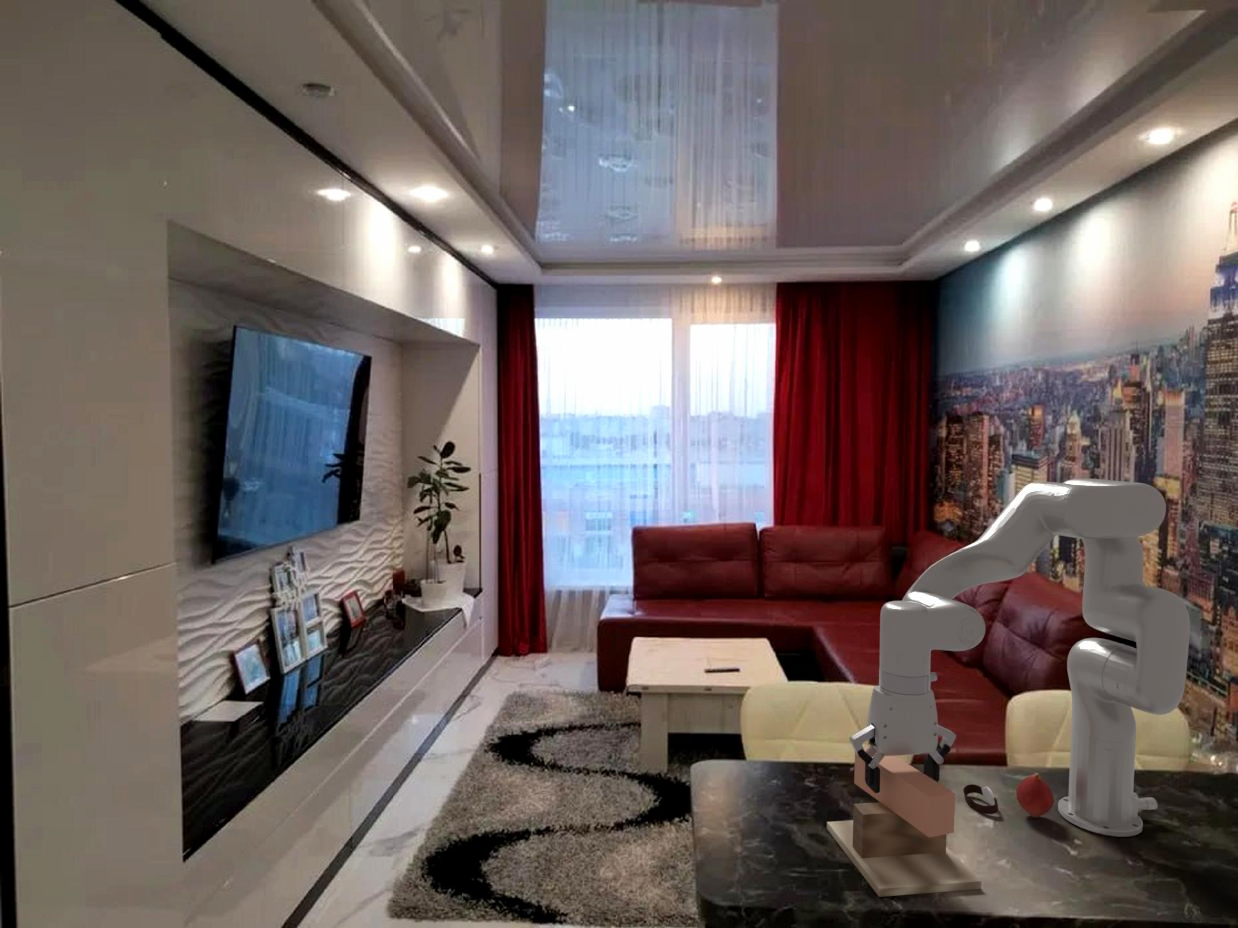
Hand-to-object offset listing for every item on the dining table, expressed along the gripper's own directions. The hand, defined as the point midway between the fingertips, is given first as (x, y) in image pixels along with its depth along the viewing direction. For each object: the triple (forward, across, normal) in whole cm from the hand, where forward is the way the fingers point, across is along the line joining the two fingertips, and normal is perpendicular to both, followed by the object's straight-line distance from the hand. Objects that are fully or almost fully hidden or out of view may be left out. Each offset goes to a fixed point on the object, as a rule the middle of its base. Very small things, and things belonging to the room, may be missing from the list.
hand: (901, 786), depth 122 cm
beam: (+3, 0, 0) cm, 3 cm away
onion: (+12, -30, -9) cm, 33 cm away
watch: (+12, -23, -14) cm, 29 cm away
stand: (+11, 0, 0) cm, 11 cm away
